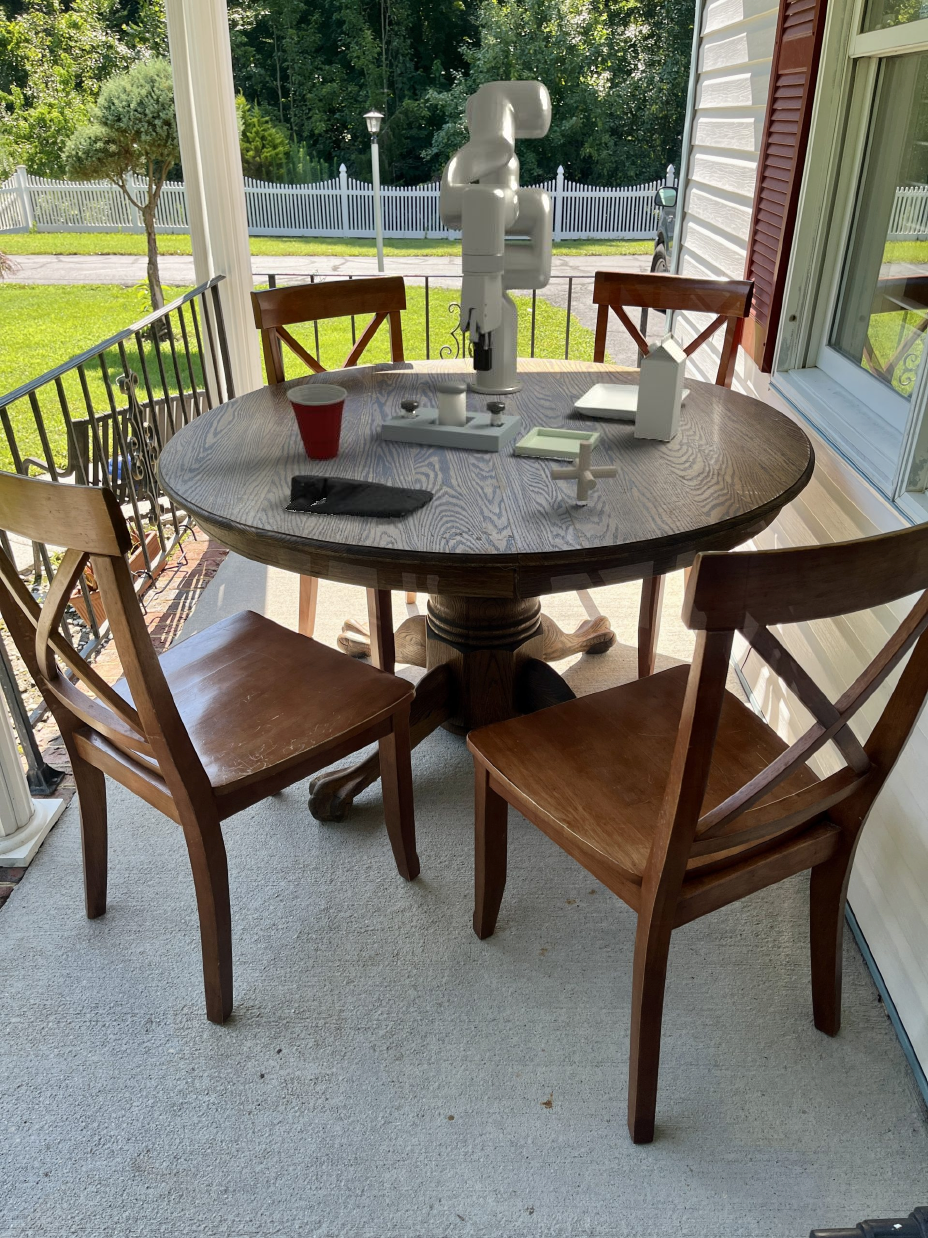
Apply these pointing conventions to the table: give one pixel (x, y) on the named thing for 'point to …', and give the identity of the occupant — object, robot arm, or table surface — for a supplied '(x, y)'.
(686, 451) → the table surface
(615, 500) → the table surface
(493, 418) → the plunger
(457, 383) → the cartridge
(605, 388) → the salad plate
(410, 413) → the plunger
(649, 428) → the milk carton
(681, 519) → the table surface
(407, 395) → the table surface
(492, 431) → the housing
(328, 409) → the plastic cup
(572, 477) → the pipe connector
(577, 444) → the tray
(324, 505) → the dark slate chunk
